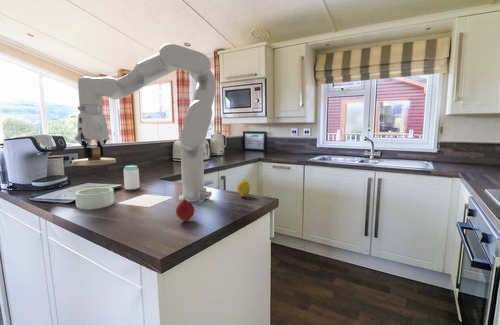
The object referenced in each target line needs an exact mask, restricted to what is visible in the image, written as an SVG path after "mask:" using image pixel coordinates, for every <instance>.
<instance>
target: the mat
mask: <svg viewBox="0 0 500 325" xmlns="http://www.w3.org/2000/svg"><path fill="white" fill-rule="evenodd" d="M172 198H174V196H165V195H157V194H146V193H145V194H142V195H138V196H135V197H132V198H129V199H126V200H123V201H120V202H117V205H118V204H119V205H127V206H134V207H135V206H136V207H144V208H151V207H152V206H155V205H157V204H161V203H163V202H165V201H167V200H170V199H172Z"/></svg>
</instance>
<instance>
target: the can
mask: <svg viewBox="0 0 500 325" xmlns="http://www.w3.org/2000/svg"><path fill="white" fill-rule="evenodd" d="M139 171H140V169H139V168H138V165H135V164H134V165H133V164H131V165H125V166H124V168H123V182H124V190H126V191H129V190H137V189H139V188H140V172H139Z"/></svg>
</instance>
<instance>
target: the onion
mask: <svg viewBox="0 0 500 325" xmlns="http://www.w3.org/2000/svg"><path fill="white" fill-rule="evenodd" d="M175 214H176V216H177V217H178V218H179V219H180V220H182V221H183V222H184V223H185V222H188V221H189V220H190V219H191V218H192V217H193V215H194V214H195V207H194V205H193V204H192V202H189V201H187V200H186V199H185V198H183V201H180V202H179V203H178V205H176V209H175Z"/></svg>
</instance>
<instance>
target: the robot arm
mask: <svg viewBox="0 0 500 325" xmlns="http://www.w3.org/2000/svg"><path fill="white" fill-rule="evenodd" d="M211 69H212V63H211V60H210V58H209V57H208V56H207V55H206V54H204V53H202V52H200V51H197V50H194V49H191V48H188V47H185V46H183V45H180V44H176V43H164V44H163V45H161V47H160V48H159V50H158V52H157V53H155V54H154V55H151V56H149V57H147V58H144V59H142V60H140V61H139V62H137V63H136V64H135V66H134V67H133V69H132V70H131V71H130V72H128V73H126V75H124V76H121V77H120V78H118V79H116V78H115V77H111V76H103V77H91V76H81V77H78V79H77V84H78V86H77V87H78V99H79V106H77V110H78V111H79V113H78V116H77V117H78V118H77V135H76V137H74V141H75V142H77V143H79V144H80V145H81V147H82V148H83V152H84V159H86V158H92V148H90V147H91V144H92V141H95V143H96V147H100V155H101V158H104V147H105V145H106V143H107V142H108V141H109V140H110V137H109V130H108V123H107V119H106V114H104V113H103V99H102V97H105V98H110V99H112V100H121V99H123V98H125V97H128V96H130V95H132V94H134V93H136V92H137V91H139V90H141V89H143V88H144V87H146V86H148V85H149V84H151V83H153V82H155V81H157V80H158V79H160V78H162V77H164V76H167V75H169V74H171V73H173V72H176V71H177V70H182V71H185V72H187V73H189V74H190V76H191V77H192V78H193V79H194V81H195V85H196V86H195V90H194V93H193V96H192V100H191V103H190V105H189V107H188V109H187V113H186V116H185V120H184V122H183V126H182V130H181V132H180V134H179V141H180V165H181V167H180V168H181V190H182V191H181V193H182V194H180V195H179V196H178V200H179V201H180V202H182V201H183V198H185V199H186V200H187V201H189V202H190V203H192V202H193V203H195V202H203V201H206V200H207V199H208V198H210V197H212V194H213V192H212V191H210V190H207V188H206V187H205V179H204V178H205V175H204V173H205V172H204V166H205V165H204V143H205V140H206V137H207V135H208V131H209V128H210V125H211V121H212V119H213V109H212V106H213V103H214V100H215V95H216V91H217V82H216V78H215V74H214V73H213V72H212V70H211Z"/></svg>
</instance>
